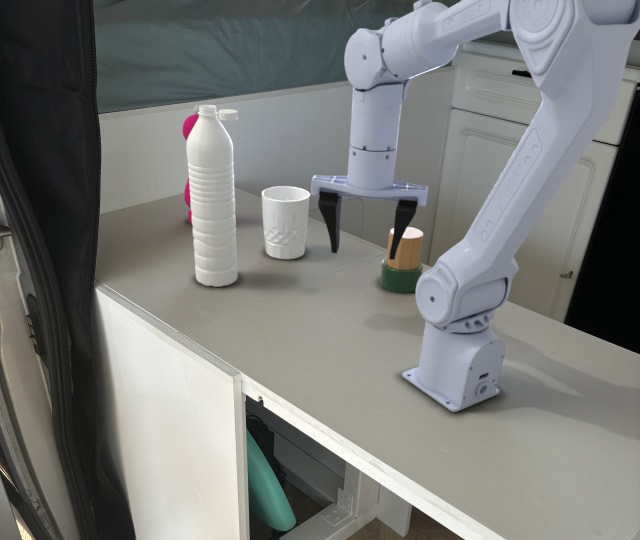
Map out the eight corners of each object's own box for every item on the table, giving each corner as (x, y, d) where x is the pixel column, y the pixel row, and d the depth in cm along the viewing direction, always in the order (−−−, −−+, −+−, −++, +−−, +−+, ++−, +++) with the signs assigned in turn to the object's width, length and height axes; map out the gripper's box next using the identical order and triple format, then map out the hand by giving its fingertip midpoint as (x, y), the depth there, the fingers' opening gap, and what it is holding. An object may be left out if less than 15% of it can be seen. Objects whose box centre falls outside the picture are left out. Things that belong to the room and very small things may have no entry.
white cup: (302, 263, 109) (303, 203, 103) (256, 258, 110) (255, 198, 104) (312, 246, 115) (314, 188, 109) (268, 241, 116) (268, 183, 110)
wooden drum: (425, 265, 102) (430, 234, 99) (400, 272, 99) (404, 240, 96) (404, 254, 105) (408, 224, 102) (379, 261, 103) (382, 230, 100)
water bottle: (187, 277, 103) (173, 103, 88) (219, 266, 107) (211, 98, 92) (223, 296, 98) (214, 115, 83) (255, 284, 102) (252, 109, 87)
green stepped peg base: (428, 287, 104) (434, 248, 100) (397, 296, 101) (402, 256, 97) (402, 273, 108) (407, 234, 104) (372, 281, 105) (375, 241, 101)
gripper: (434, 142, 81) (419, 248, 89) (319, 132, 83) (315, 236, 91) (432, 157, 75) (417, 268, 84) (309, 146, 77) (305, 256, 85)
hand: (363, 253), depth 87 cm, fingers open, 7 cm apart
